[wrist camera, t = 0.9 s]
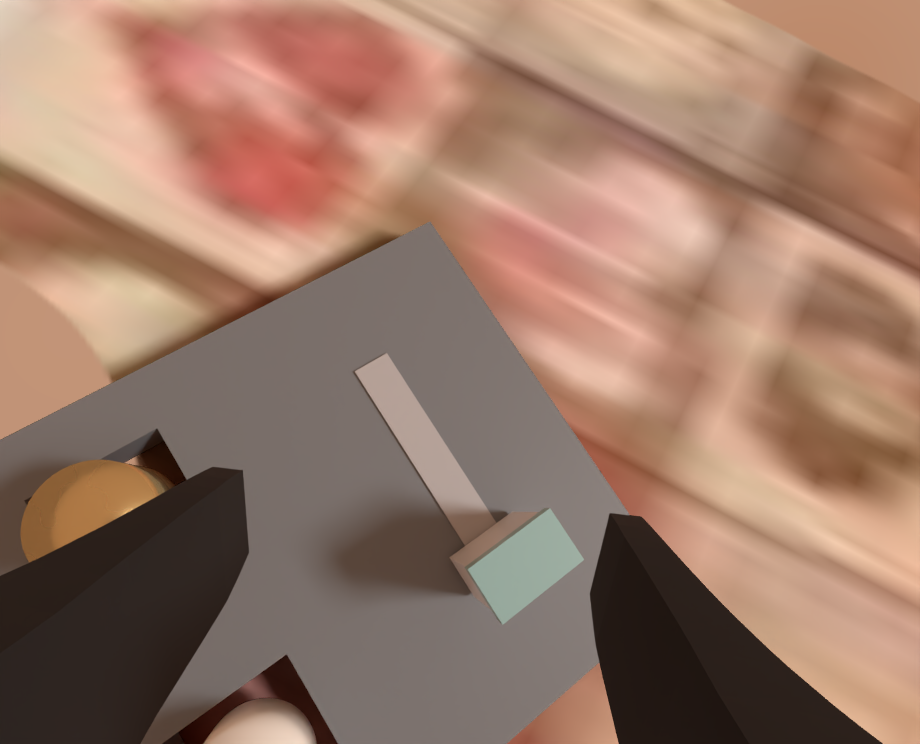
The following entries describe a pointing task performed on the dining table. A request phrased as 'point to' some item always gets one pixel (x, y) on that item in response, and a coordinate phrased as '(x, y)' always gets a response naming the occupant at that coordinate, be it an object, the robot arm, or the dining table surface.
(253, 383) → the control panel
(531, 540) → the pale green slider knob
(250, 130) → the dining table surface
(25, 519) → the brass button
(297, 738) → the white button
